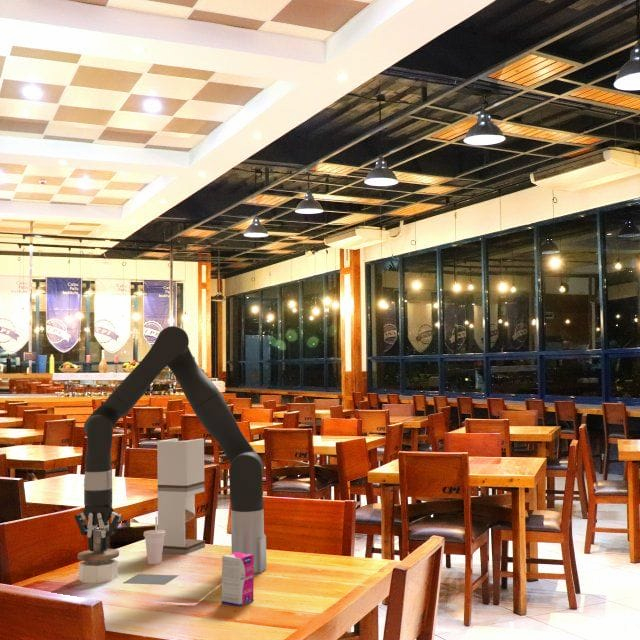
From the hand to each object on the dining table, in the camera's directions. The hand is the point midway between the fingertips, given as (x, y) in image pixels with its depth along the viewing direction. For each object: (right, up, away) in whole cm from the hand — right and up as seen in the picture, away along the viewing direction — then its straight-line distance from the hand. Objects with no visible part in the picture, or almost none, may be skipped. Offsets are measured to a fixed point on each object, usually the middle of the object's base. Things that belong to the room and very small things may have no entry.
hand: (98, 550), depth 228 cm
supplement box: (+41, -6, -25) cm, 48 cm away
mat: (+15, -8, -3) cm, 17 cm away
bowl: (0, -8, -1) cm, 8 cm away
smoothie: (+12, -9, +17) cm, 23 cm away
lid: (0, -2, 0) cm, 2 cm away
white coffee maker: (+16, -11, +39) cm, 44 cm away
